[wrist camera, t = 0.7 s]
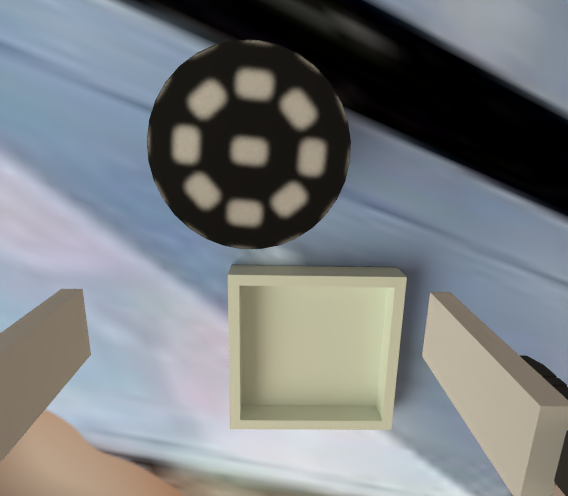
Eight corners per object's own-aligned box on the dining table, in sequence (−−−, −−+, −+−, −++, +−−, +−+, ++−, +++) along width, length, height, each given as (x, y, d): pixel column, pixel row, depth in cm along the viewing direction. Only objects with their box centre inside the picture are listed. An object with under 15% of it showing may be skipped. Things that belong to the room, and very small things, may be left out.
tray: (231, 264, 38) (227, 274, 36) (396, 267, 39) (406, 277, 36) (233, 409, 42) (230, 429, 40) (383, 410, 43) (391, 429, 40)
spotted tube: (315, 103, 35) (364, 52, 16) (304, 198, 37) (336, 257, 18) (219, 93, 35) (148, 27, 15) (214, 189, 37) (145, 240, 17)
